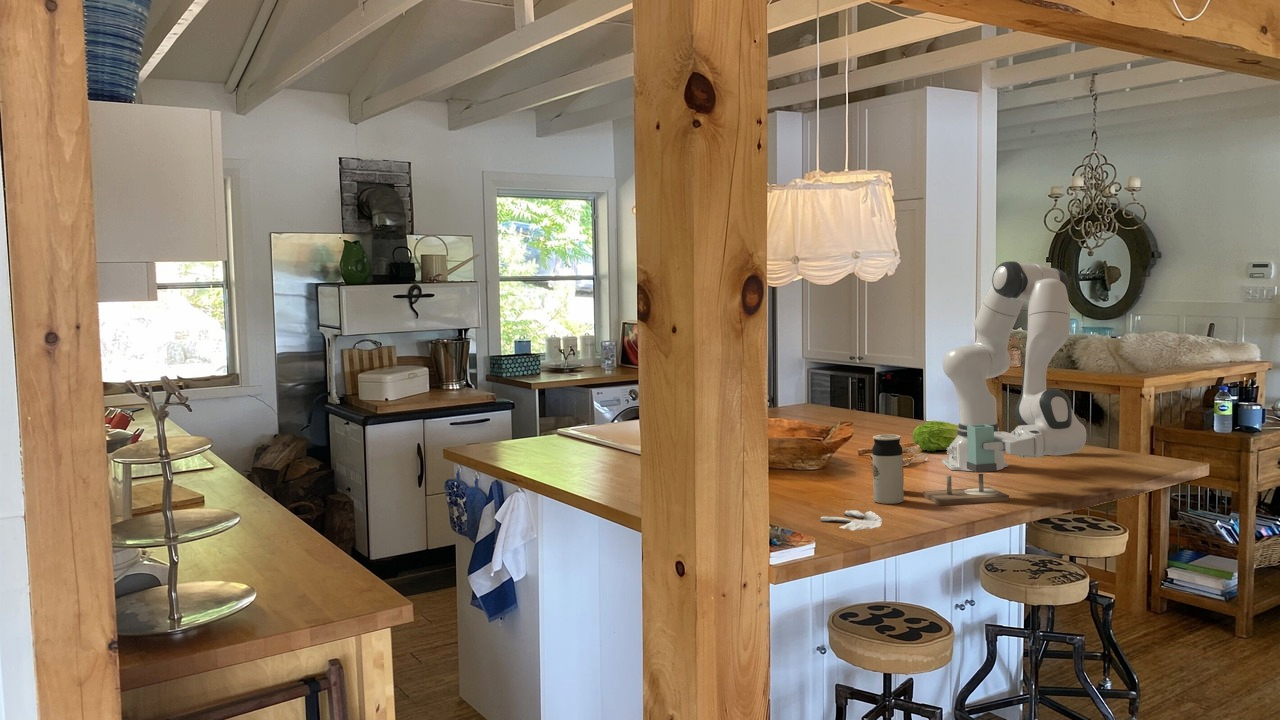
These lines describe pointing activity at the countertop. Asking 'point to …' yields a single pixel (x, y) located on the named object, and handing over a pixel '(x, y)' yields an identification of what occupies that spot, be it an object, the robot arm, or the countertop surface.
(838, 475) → the countertop surface
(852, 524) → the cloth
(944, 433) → the lettuce
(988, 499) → the pin board
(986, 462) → the teal sleeve
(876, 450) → the travel mug
